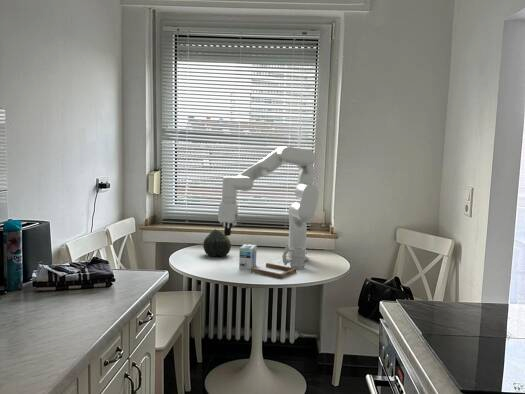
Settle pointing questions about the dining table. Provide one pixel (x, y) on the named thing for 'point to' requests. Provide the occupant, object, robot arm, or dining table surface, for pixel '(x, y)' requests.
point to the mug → (295, 257)
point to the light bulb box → (247, 256)
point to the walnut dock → (272, 274)
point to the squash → (216, 244)
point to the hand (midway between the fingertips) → (227, 235)
